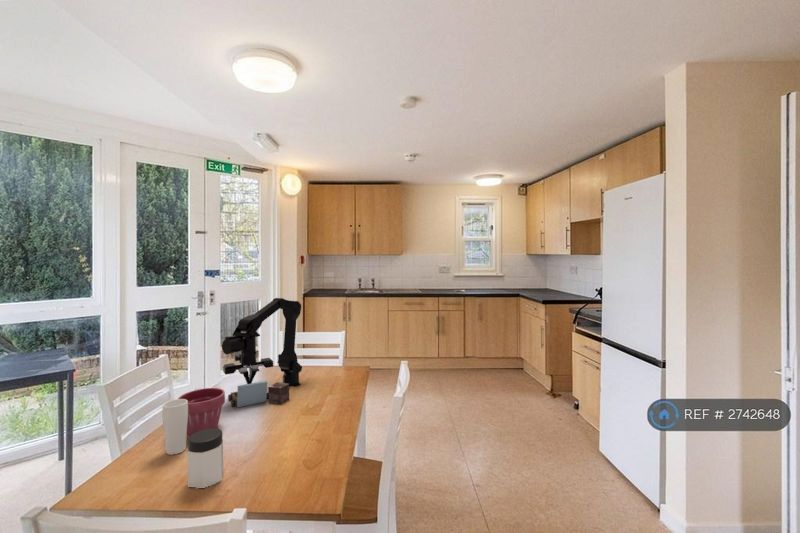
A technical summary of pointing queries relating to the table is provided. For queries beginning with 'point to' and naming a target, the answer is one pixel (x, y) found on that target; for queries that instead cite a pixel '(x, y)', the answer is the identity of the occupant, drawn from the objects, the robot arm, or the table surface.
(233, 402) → the bed
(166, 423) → the drinking glass
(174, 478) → the table surface
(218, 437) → the jar
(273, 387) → the box
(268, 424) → the table surface
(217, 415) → the plant pot
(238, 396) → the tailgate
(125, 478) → the table surface
